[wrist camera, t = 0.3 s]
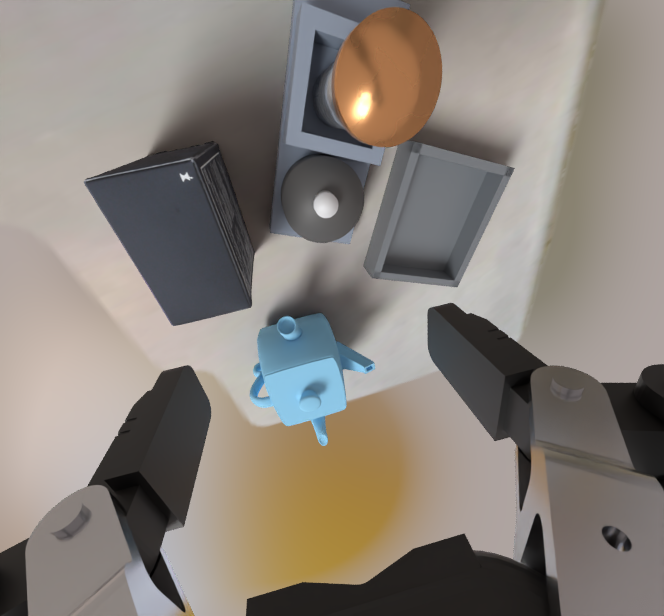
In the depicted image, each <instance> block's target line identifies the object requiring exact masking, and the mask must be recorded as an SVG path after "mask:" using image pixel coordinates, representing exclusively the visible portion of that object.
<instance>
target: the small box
mask: <svg viewBox="0 0 664 616" xmlns="http://www.w3.org/2000/svg"><path fill="white" fill-rule="evenodd" d="M84 183H85V185H86V187H87V188H88V190H89V191H90V193H91V195H92V196H93V198H94V200H95V201H96V203H97V205H98V206H99V208H100V209H101V211H102V213H103V214H104V216H105V217H106V219H107V221H108V222H109V224H110V225H111V227H112V229H113V230H114V232H115V233H116V235H117V237H118V238H119V240H120V241H121V243H122V245H123V246H124V248H125V250H126V251H127V253H128V254H129V256H130V258H131V259H132V261H133V262H134V264H135V266H136V267H137V269H138V270H139V272H140V274H141V275H142V277H143V279H144V280H145V282H146V284H147V285H148V287H149V288H150V290H151V292H152V293H153V295H154V297H155V298H156V300H157V302H158V303H159V305H160V306H161V308H162V310H163V311H164V313H165V315H166V316H167V318H168V320H169V321H170V323H171V325H173V326H176V325H182V324H186V323H190V322H195V321H199V320H203V319H207V318H211V317H215V316H219V315H223V314H227V313H231V312H235V311H239V310H243V309H247V308H251V306H252V299H251V298H252V296H251V289H252V287H251V286H252V273H253V262H254V255H255V253H254V250H253V247H252V244H251V241H250V238H249V235H248V232H247V229H246V226H245V222H244V220H243V217H242V214H241V211H240V208H239V205H238V202H237V199H236V196H235V192H234V190H233V187H232V184H231V181H230V178H229V175H228V172H227V169H226V167H225V164H224V161H223V158H222V155H221V152H220V150H219V146H218V144H216V143H215V142H213V141H212V142H208V143H205V144H204V145H197V146H191V147H190V148H185V149H180V150H174V151H170V152H167V151H164V152H160V153H157V154H154V155H151V156H147V157H145V158H142V159H140V160H137V161H134V162H132V163H129V164H127V165H123V166H121V167H118V168H116V169H113V170H111V171H107V172H105V173H102V174H100V175H97V176H94V177H91V178H87V179H86V180H85V181H84Z"/></svg>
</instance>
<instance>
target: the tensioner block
mask: <svg viewBox="0 0 664 616" xmlns="http://www.w3.org/2000/svg"><path fill="white" fill-rule="evenodd" d="M389 7H400V8H405V9H408V10H409V8H410V4H407V3H405V2H403V1H400V0H293V10H292V19H291V29H290V38H289V48H288V57H287V66H286V76H285V85H284V95H283V104H282V114H281V123H280V133H279V142H278V152H277V161H276V171H275V180H274V190H273V199H272V209H271V218H270V233H274V234H281V235H288V236H295V237H303V238H304V239H306V240H309V241H312V242H317V243H327V242H338V243H345V244H350V242H351V238H352V234H353V230H354V226H355V225H356V223H357V222H358V220H359V218H360V216H361V213H362V210H363V205H364V192H363V190H364V186H365V182H366V178H367V174H368V170H369V166H370V164H374V165H379V166H380V165H381V161H382V157H383V154H384V150H385V147H376V146H372V145H368V144H365V143H362V142H360V141H358V140H356V139H355V138H354V137H352V136H351V135H350V134H349V133H348V132H347V131H346V130H345V129H339V128H332V127H329V126H327V125H325V124H324V123H323V122H322V121H321V120H320V119H319V118H318V116H317V115H316V112H315V110H314V107H313V102H312V92H313V87H314V83H315V81H316V79H317V77H318V76H319V75H320V73H321V72H322V71H323V70H325V69H326V68H327V67H329V66H330V65H331V64H333V63H334V62H335V59H336V56H337V53H338V51H339V49H340V47H341V45H342V43H343V42H344V40H345V39H346V37H347V36H348V35H349V33H350V32H351V31H352V30H353V29H354V28H355V27H356V26H357V25H358V24H360V23H361V22H362V21H363V20H364V19H365V18H366V17H368V16H369V15H371V14H372V13H374V12H376V11H378V10H381V9H384V8H389Z"/></svg>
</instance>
